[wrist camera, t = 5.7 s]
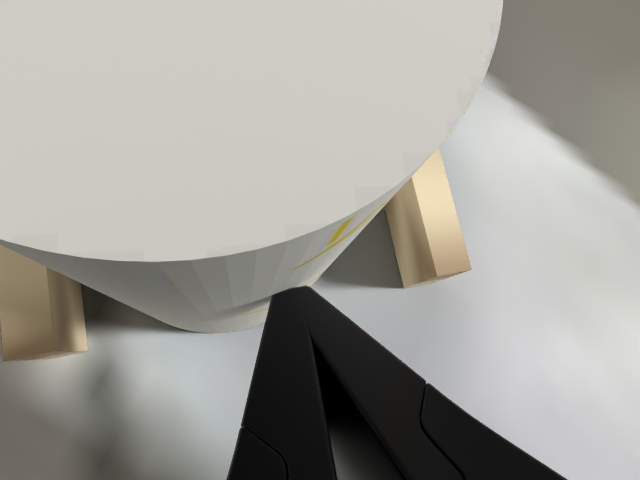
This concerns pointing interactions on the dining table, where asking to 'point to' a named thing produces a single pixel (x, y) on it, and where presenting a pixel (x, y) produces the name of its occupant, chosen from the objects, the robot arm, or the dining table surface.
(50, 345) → the open wooden frame
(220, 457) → the dining table surface
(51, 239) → the cup
